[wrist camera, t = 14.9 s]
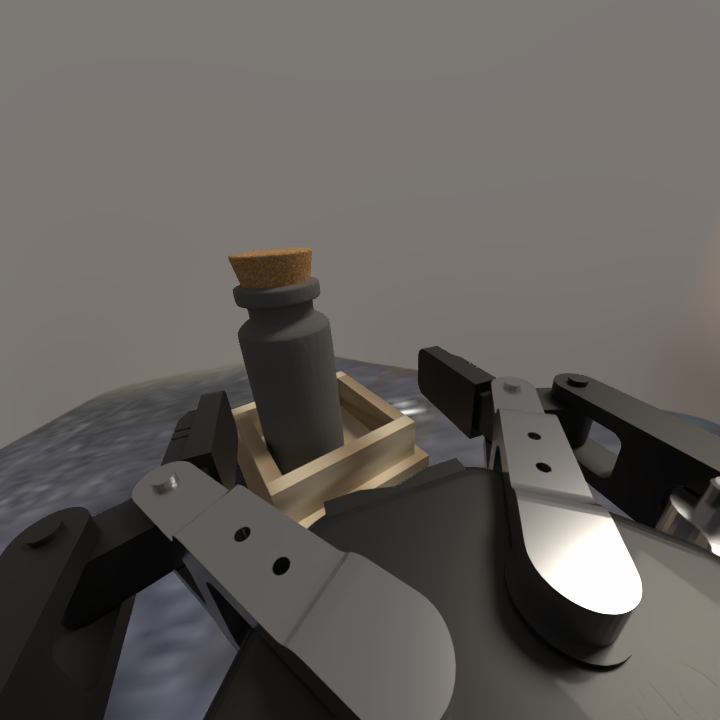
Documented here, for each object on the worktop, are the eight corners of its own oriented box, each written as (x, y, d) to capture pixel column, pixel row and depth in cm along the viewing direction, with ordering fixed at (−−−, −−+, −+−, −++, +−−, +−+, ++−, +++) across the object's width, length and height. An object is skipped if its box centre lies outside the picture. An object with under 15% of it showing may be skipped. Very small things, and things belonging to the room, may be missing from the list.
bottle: (338, 422, 26) (316, 244, 20) (351, 469, 21) (326, 249, 15) (272, 435, 25) (226, 252, 19) (268, 488, 20) (204, 260, 14)
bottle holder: (276, 561, 17) (261, 513, 15) (232, 446, 26) (219, 409, 24) (428, 465, 22) (429, 422, 21) (347, 399, 32) (343, 366, 30)
